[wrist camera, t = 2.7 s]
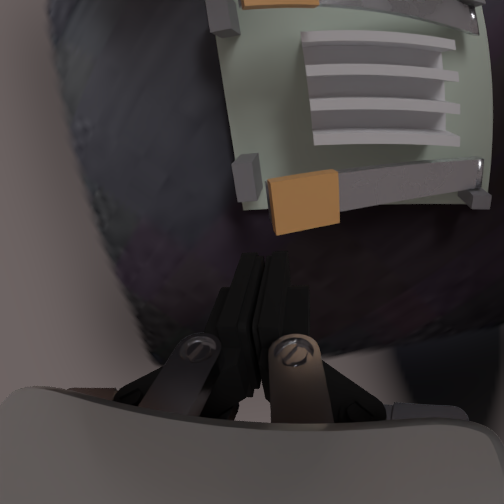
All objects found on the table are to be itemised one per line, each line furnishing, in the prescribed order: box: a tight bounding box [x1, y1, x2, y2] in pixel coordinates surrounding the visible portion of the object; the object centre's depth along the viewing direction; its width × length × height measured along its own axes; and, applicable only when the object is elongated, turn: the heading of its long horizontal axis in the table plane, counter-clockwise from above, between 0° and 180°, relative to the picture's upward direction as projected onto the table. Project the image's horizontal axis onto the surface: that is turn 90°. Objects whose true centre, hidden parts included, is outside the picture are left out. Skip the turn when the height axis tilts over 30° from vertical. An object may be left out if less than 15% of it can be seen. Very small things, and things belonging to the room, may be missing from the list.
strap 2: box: [265, 156, 484, 235], centre depth 19 cm, size 19×3×2 cm, turn 98°
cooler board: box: [205, 0, 493, 210], centre depth 18 cm, size 23×20×6 cm
